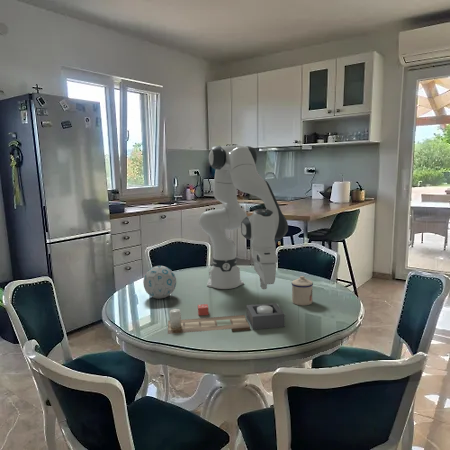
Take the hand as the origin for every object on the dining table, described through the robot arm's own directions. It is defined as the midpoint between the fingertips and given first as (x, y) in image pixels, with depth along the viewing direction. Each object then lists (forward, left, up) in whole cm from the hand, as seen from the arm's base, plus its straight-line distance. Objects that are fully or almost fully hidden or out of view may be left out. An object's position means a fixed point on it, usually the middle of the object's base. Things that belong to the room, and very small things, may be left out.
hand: (263, 288), depth 145 cm
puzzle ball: (-37, -41, -14) cm, 56 cm away
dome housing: (0, 0, -13) cm, 13 cm away
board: (0, -22, -13) cm, 25 cm away
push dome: (0, 0, -11) cm, 11 cm away
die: (-11, -23, -13) cm, 28 cm away
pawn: (0, -34, -12) cm, 36 cm away
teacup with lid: (-19, +21, -14) cm, 31 cm away
